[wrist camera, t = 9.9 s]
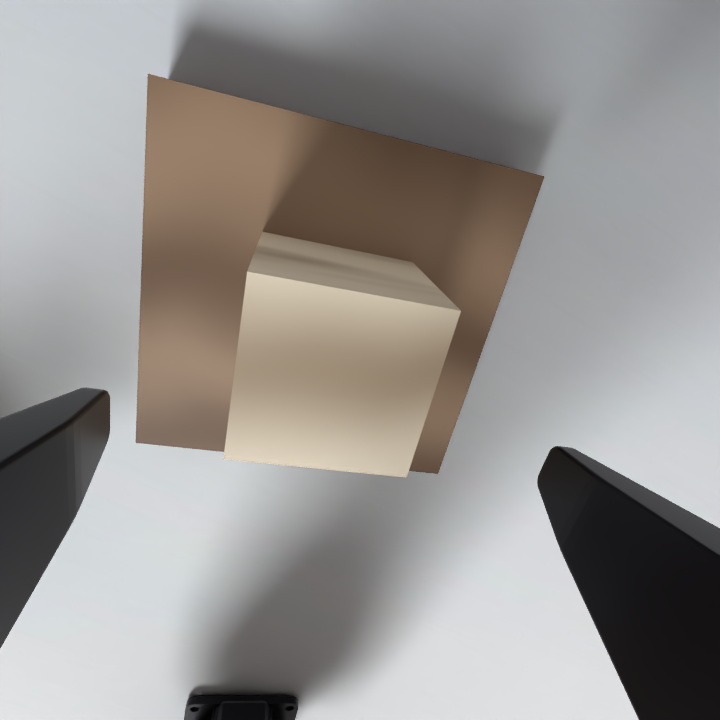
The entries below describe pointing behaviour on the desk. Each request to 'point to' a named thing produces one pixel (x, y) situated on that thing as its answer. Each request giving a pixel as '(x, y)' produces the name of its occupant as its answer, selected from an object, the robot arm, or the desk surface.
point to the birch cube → (335, 358)
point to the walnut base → (306, 222)
